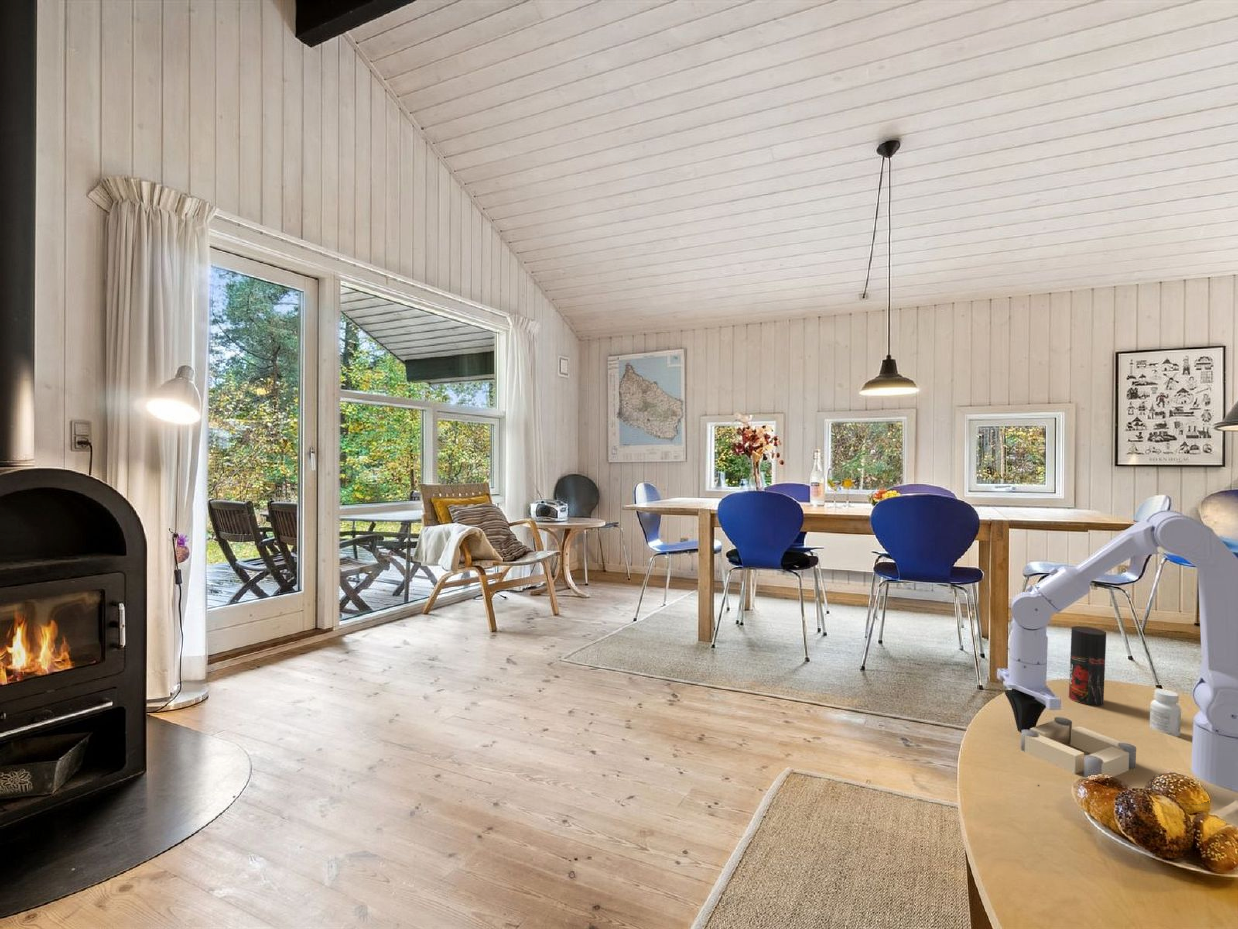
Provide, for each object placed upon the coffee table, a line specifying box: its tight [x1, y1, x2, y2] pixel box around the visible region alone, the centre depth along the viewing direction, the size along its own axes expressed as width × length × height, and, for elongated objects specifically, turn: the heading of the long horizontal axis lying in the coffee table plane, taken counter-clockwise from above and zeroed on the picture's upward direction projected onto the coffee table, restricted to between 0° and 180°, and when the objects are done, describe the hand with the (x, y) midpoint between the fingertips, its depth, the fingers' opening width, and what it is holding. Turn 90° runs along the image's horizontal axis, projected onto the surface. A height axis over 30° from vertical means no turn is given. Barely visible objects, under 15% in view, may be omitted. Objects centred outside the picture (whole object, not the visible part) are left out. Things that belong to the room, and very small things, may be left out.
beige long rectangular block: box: [1030, 716, 1073, 745], centre depth 113 cm, size 9×3×3 cm, turn 117°
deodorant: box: [1068, 625, 1107, 707], centre depth 134 cm, size 6×6×15 cm
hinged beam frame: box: [1020, 725, 1137, 778], centre depth 108 cm, size 13×13×4 cm
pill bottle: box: [1149, 688, 1182, 738], centre depth 119 cm, size 4×4×8 cm
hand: (1025, 732), depth 116 cm, fingers closed
